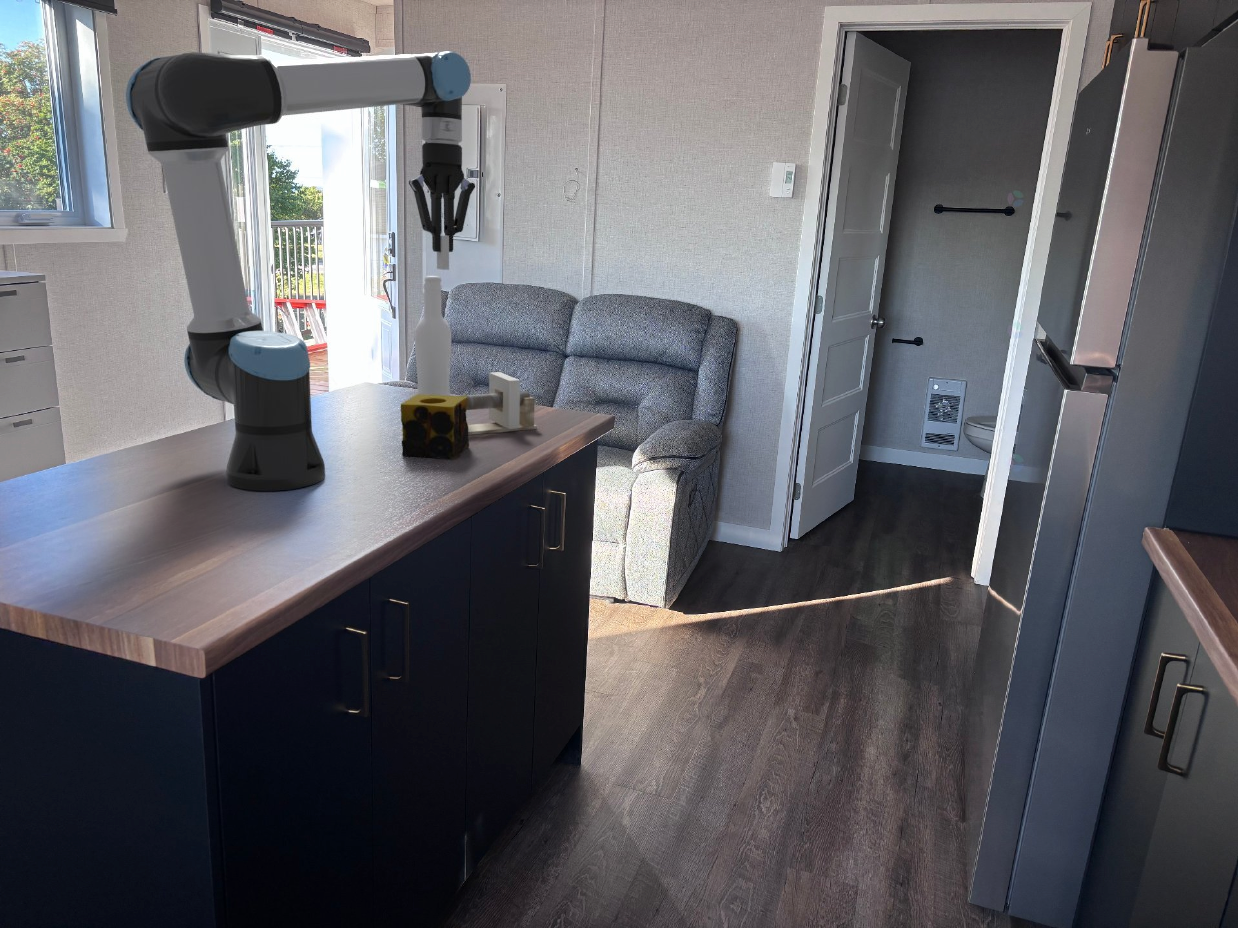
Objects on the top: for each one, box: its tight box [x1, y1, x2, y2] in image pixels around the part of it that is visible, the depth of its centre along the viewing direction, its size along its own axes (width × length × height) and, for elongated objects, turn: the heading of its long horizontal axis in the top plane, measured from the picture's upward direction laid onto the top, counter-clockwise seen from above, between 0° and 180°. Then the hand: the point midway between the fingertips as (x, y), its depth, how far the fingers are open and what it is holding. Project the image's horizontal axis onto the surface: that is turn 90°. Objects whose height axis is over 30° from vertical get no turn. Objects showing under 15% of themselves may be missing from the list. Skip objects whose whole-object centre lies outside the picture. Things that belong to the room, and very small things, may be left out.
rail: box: [463, 390, 538, 436], centre depth 190 cm, size 19×6×8 cm, turn 121°
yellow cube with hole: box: [400, 393, 470, 460], centre depth 171 cm, size 10×10×10 cm
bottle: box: [413, 275, 452, 396], centre depth 199 cm, size 8×8×30 cm
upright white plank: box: [488, 371, 521, 429], centre depth 191 cm, size 2×10×10 cm, turn 31°
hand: (443, 269), depth 182 cm, fingers closed
